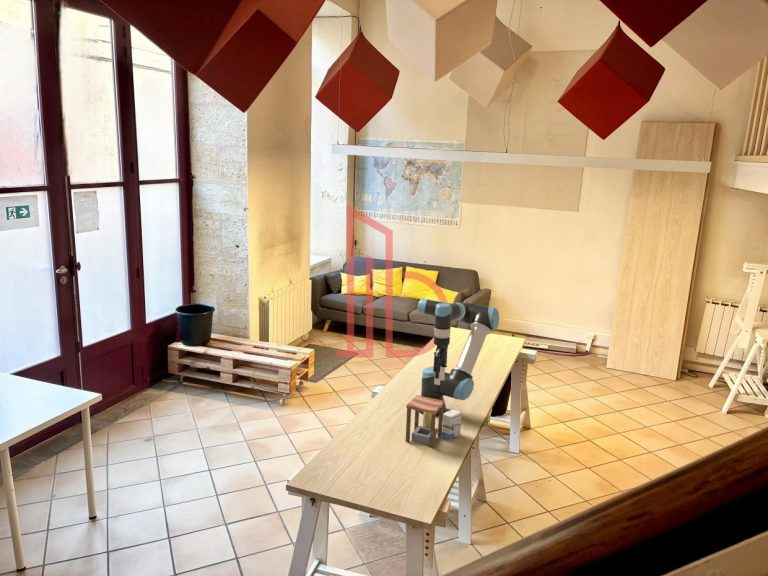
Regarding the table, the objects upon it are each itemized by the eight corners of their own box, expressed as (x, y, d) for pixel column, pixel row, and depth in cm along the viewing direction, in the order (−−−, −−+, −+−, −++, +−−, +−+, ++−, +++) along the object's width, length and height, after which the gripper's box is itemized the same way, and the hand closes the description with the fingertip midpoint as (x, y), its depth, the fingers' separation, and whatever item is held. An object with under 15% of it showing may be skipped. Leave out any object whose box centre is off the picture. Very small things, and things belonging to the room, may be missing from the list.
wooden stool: (414, 430, 291) (416, 395, 287) (442, 436, 286) (444, 400, 282) (404, 441, 280) (406, 405, 276) (433, 448, 274) (435, 411, 270)
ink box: (449, 440, 283) (450, 417, 280) (441, 436, 287) (442, 413, 284) (460, 434, 289) (462, 412, 286) (452, 431, 292) (453, 408, 290)
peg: (424, 424, 298) (425, 398, 295) (432, 426, 296) (433, 400, 293) (421, 428, 294) (423, 401, 291) (429, 429, 293) (430, 403, 290)
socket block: (418, 433, 289) (418, 425, 288) (435, 437, 285) (436, 429, 284) (411, 441, 281) (411, 433, 280) (429, 445, 277) (429, 437, 276)
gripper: (440, 329, 292) (438, 374, 298) (427, 340, 276) (425, 387, 281) (455, 332, 289) (452, 377, 295) (443, 342, 273) (440, 390, 278)
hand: (439, 382), depth 288 cm, fingers open, 6 cm apart
